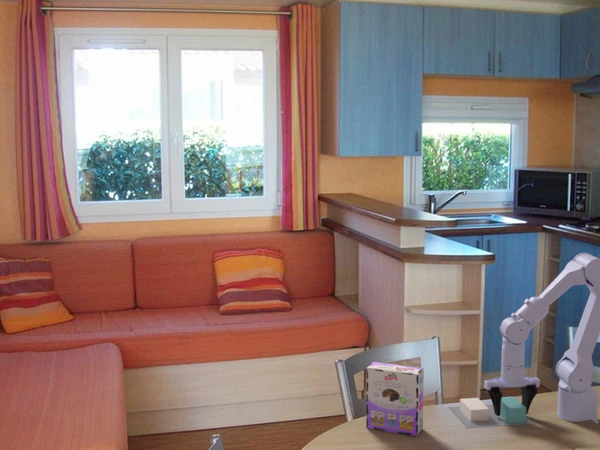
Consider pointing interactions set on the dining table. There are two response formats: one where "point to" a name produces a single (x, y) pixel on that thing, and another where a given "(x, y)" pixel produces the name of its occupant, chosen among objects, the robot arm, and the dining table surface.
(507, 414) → the teal brick
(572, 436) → the dining table surface
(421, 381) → the candy box
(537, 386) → the robot arm
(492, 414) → the baseplate
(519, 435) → the dining table surface
